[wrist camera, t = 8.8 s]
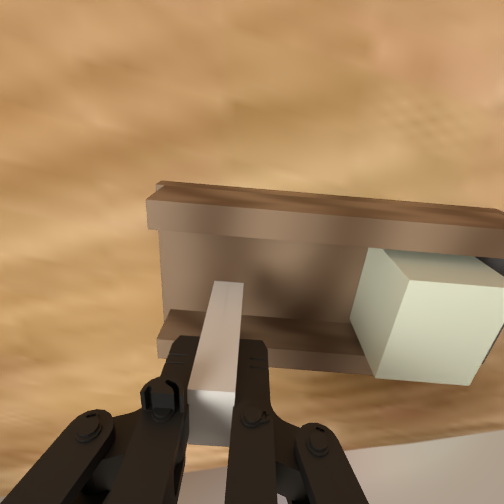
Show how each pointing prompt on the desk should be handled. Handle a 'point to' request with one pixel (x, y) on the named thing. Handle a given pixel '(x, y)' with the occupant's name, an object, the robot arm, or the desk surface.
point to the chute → (296, 261)
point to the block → (427, 315)
